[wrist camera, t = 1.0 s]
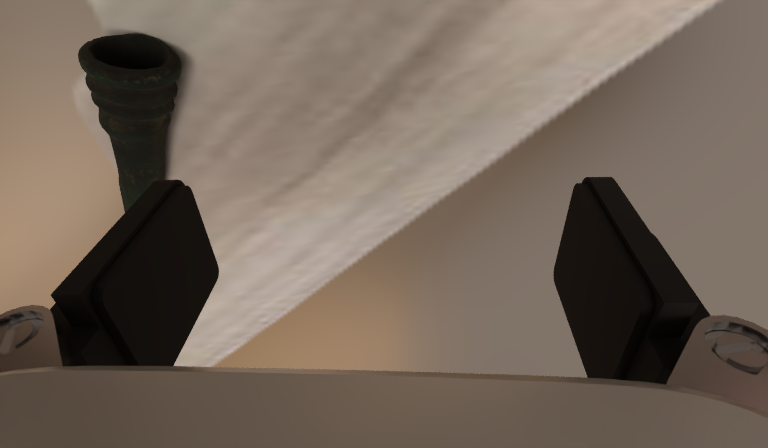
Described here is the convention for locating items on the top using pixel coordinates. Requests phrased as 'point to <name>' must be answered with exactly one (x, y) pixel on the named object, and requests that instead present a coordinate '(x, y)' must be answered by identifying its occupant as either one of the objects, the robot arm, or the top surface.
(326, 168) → the top surface
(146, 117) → the tool
